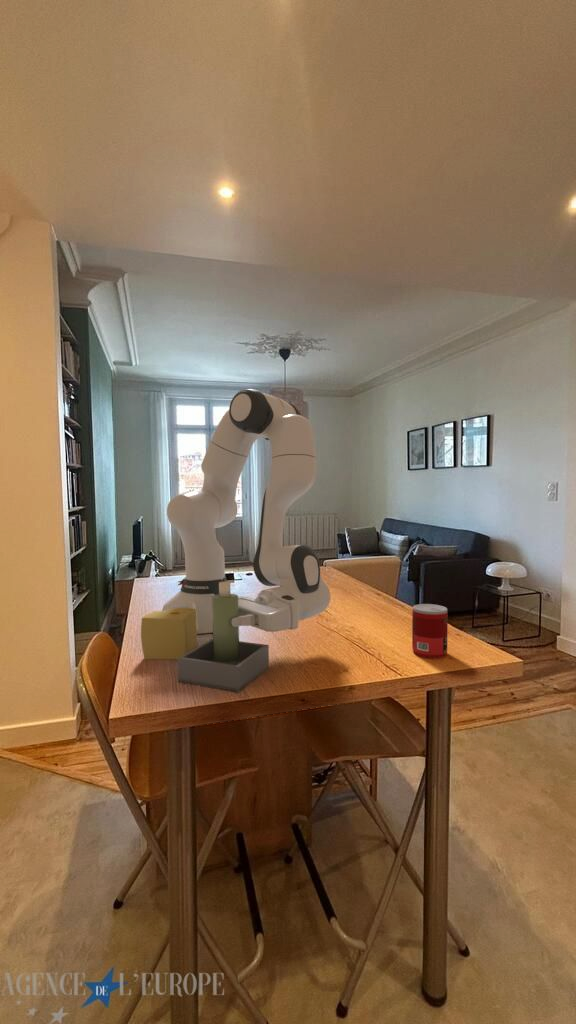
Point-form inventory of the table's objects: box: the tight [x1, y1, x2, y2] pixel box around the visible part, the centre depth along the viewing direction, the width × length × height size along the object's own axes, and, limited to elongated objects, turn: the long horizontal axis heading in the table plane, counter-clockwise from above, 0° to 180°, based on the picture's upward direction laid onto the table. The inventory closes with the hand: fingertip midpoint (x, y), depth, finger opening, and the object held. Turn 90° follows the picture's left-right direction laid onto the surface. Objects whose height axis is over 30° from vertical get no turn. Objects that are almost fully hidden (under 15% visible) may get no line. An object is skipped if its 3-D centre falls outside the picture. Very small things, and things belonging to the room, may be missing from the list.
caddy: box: [177, 638, 270, 693], centre depth 101 cm, size 14×14×5 cm
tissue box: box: [140, 608, 198, 661], centre depth 114 cm, size 10×11×10 cm
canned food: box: [411, 603, 449, 659], centre depth 113 cm, size 8×8×11 cm
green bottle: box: [212, 580, 240, 662], centre depth 100 cm, size 6×6×16 cm
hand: (222, 619), depth 100 cm, fingers closed on green bottle, 5 cm apart
